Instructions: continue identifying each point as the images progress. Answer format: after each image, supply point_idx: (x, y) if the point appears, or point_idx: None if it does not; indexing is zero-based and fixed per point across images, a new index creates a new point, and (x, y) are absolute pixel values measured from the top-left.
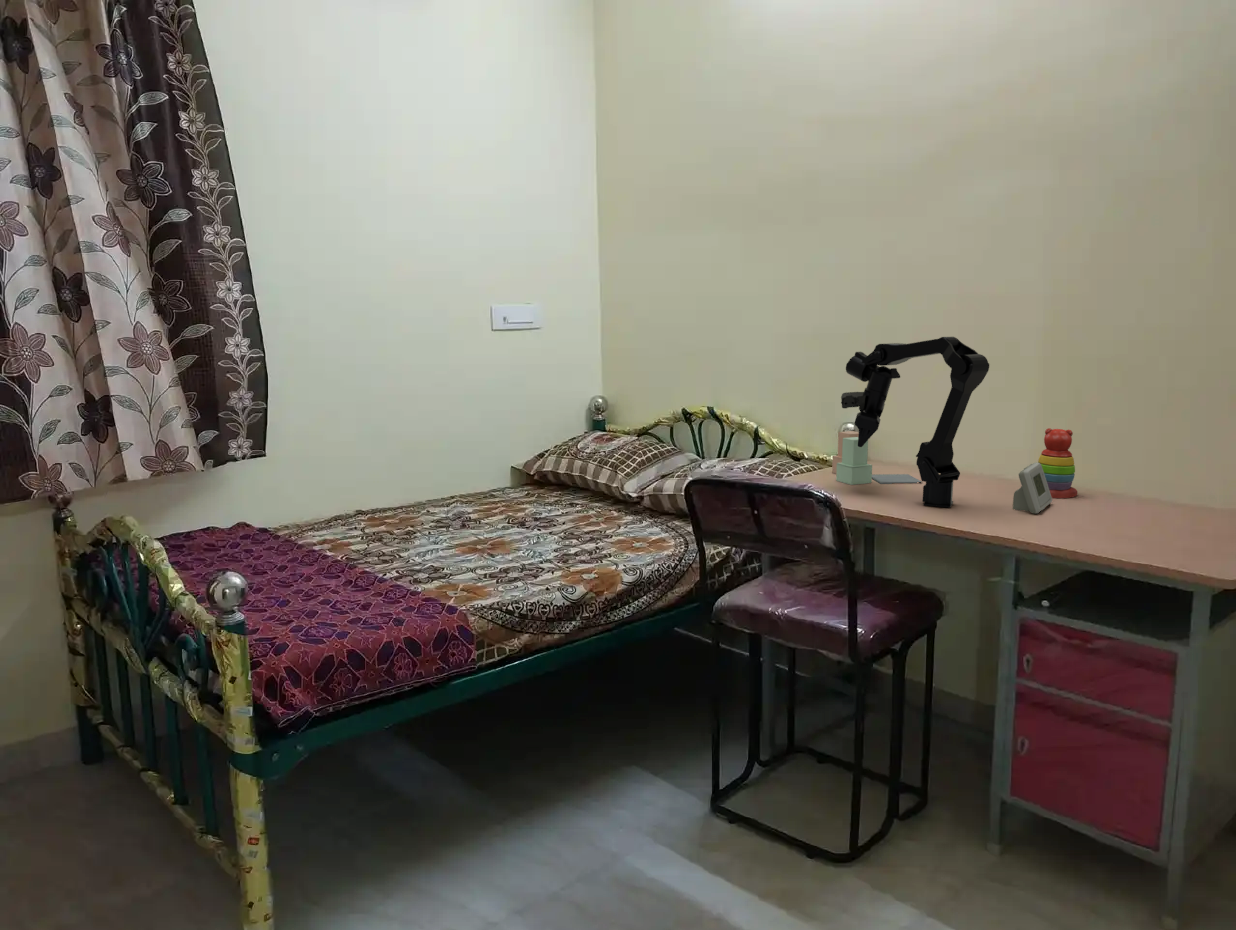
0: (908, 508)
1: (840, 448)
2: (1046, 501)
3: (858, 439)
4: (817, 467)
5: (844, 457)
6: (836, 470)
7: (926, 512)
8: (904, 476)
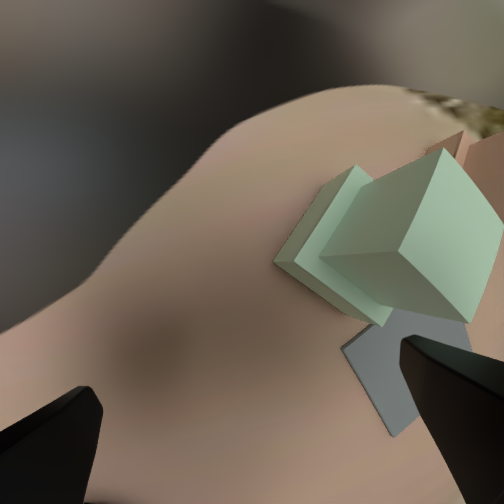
0: None
1: (487, 147)
2: None
3: (28, 418)
4: (458, 105)
5: (367, 194)
6: None
7: None
8: None
